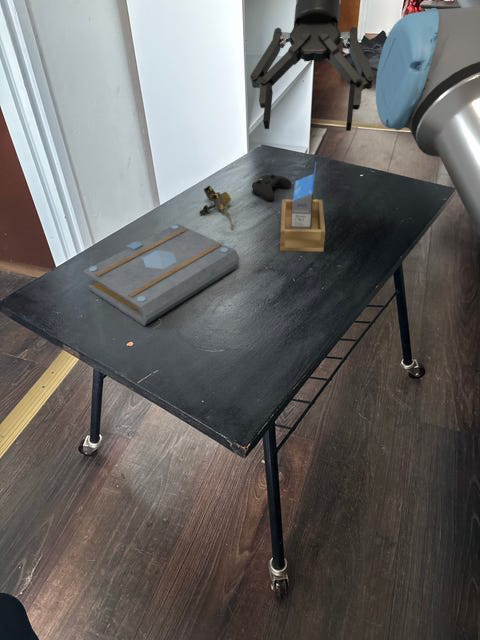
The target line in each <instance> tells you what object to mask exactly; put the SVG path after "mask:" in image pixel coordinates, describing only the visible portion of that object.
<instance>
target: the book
mask: <svg viewBox="0 0 480 640" xmlns="http://www.w3.org/2000/svg"><path fill="white" fill-rule="evenodd" d="M240 260H241V259H240V256H239V254H238V252H237V250H236V249H234V248H232V247H230V246H228V245H226V244H223V243H222V242H219V241H217V240H215V239H213V238H211V237H208V236H206V235H204V234H202V233H200V232H197V231H195V230H192V229H190V228H188V227H186V226H184V225H181V224H179V223H175V224H173V225H171V226H169V227H167V228H165V229H163V230H161V231H159V232H157V233H155V234H153V235H151V236H149V237H147V238H145V239H143V240H142V241H139V240H136V241H134V242H132V243H129V244H127V245H126V249H123V250H122V251H120V252H118V253H116V254H114V255H112V256H110V257H108V258H106V259H104V260H102V261H100V262H97V263H96V264H94V265H91V266H90V267H88V268H86V269H85V270H83V271H82V272H83V274H84V275H86V276H87V277H89V278H91V279H92V280H93V281H95V282H93V283H91V284H88V285H87V289H88V290H89V291H90V292H92V293H94V295H96V296H98V297H99V298H101V299H103V300H104V301H106V302H107V303H108V304H110V305H112V307H114V308H116V309H118V310H119V311H121V312H122V313H124V314H125V315H127V316H128V317H130V318H131V319H133V320H134V321H136V322H137V323H139V324H140V325H142V326H143V327H145V326H147V325H148V324H150V323H151V322H153V321H155V320H156V319H158V318H159V317H161V316H163V315H164V314H166V313H167V312H169V311H170V310H172V309H174V308H175V307H177V306H178V305H180V304H181V303H184V302H185V301H186V300H188V299H189V298H191V297H193V296H194V295H195V294H197V293H199V292H201V291H202V290H204V289H205V288H206V287H208V286H210V285H211V284H213V283H214V282H216V281H218V280H219V279H220V278H223V277H224V276H226V275H227V274H228V273H231V272H232V271H233V270H235V269H236V268H238V266H239V264H240Z"/></svg>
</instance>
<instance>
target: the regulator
mask: <svg viewBox="0 0 480 640" xmlns="http://www.w3.org/2000/svg"><path fill="white" fill-rule="evenodd" d="M203 192H204V194H205V196H206V198H207V199H208V201H209V202H211V203H212V204H211V205H210V206H209V205H208V204H205V205H204V206H203V208H202V209H200V211H199V215H200V216H202V215H204V214H207V213H208V214H210V213H211V210H212V209H214V208H216V209H217V210H218V211H219V212H221V213H223V214H225V215H226V216H227V217H228V219H229V223H230V230H231V231H234V224H233V221H232V218H231V214H230V213H229V211H228V204H229V203H230V202H231V201H232V199H231V196H230V194H229V193H228V192H227V191H224V192H222V193H220V192H219V191H217V192H215V190H214V189H213V187H212V186H211V185H208V186H206V187H205V188H204V189H203Z"/></svg>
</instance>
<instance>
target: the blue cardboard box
mask: <svg viewBox="0 0 480 640" xmlns="http://www.w3.org/2000/svg"><path fill="white" fill-rule="evenodd" d="M314 163H315V164H314V171H313V173H312V174H309V175H307V176H305V177H302V178H299V179H297V180H295V181H294V186H293V195H292V199H293V201H292V223H291V229H311V226H312V205H313V200H314V188H315V180H316V169H317V162H314Z"/></svg>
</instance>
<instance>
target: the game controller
mask: <svg viewBox="0 0 480 640" xmlns="http://www.w3.org/2000/svg"><path fill="white" fill-rule="evenodd" d="M274 187H279V188H282V189H285V190H286V189H290V188H291V187H292V181H291V180H290V179H289V178H287V177H285V176H281V175H275V174H265V175H263V176H261V177H260V178H259V179H257V180H255V181H253V182H252V184H251V188H252V192H251V194H252V195H254V196H257V195H258V196H260V197H261V198H262V199H264V200H265V201H267V202H274V201H275V193H274V191H273V188H274Z"/></svg>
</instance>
